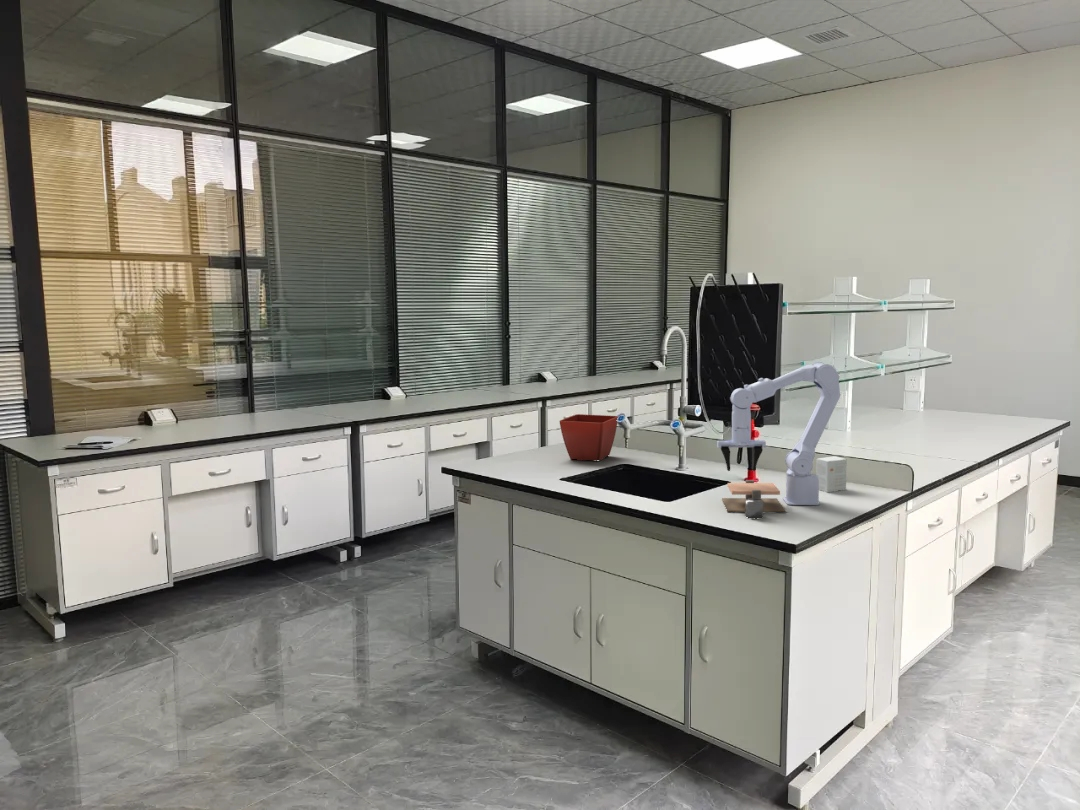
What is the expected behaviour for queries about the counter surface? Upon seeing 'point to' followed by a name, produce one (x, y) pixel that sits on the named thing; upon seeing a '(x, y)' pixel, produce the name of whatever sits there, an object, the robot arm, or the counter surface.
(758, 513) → the block
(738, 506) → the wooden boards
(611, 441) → the plant pot
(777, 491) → the tipping door
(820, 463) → the small box
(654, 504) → the counter surface
